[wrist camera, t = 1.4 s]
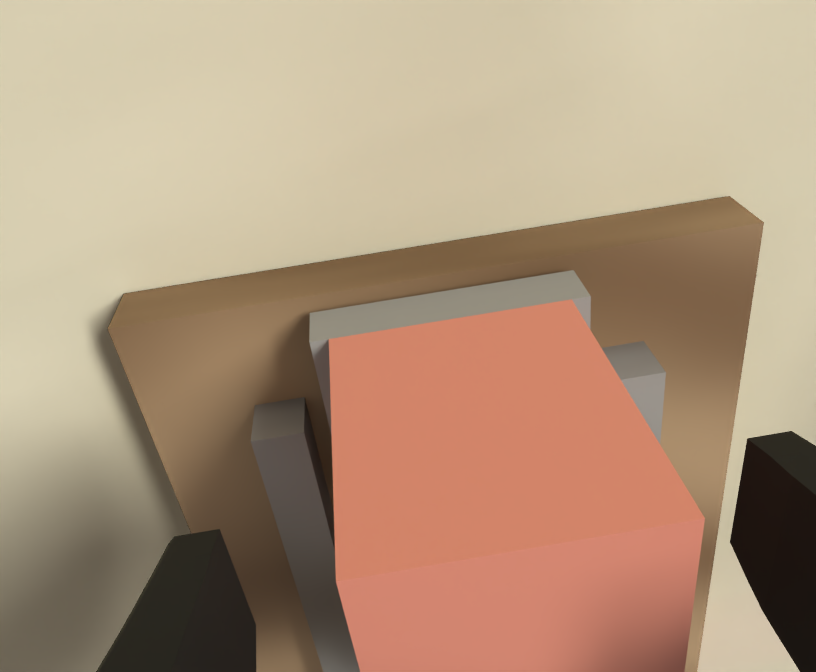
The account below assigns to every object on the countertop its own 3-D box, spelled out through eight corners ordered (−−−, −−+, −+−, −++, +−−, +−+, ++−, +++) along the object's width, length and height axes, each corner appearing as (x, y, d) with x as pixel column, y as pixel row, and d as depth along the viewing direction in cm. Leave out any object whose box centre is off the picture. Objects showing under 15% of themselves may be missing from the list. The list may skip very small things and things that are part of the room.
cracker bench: (671, 679, 21) (743, 839, 18) (297, 746, 21) (293, 921, 18) (730, 195, 13) (880, 311, 10) (124, 293, 13) (51, 450, 9)
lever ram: (573, 451, 14) (698, 727, 10) (350, 489, 14) (367, 787, 10) (573, 270, 12) (733, 512, 7) (310, 312, 12) (306, 586, 7)
